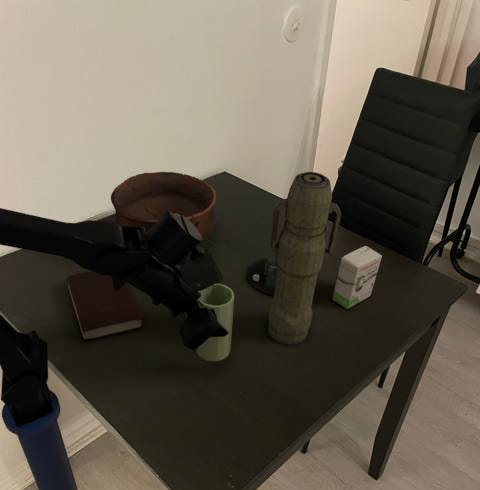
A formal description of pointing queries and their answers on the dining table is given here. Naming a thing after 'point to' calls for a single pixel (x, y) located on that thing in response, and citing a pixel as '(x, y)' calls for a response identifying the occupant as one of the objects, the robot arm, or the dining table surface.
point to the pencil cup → (223, 307)
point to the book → (102, 305)
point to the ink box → (356, 276)
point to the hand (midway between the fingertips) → (221, 321)
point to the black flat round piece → (264, 275)
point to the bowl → (164, 200)
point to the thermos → (300, 254)
